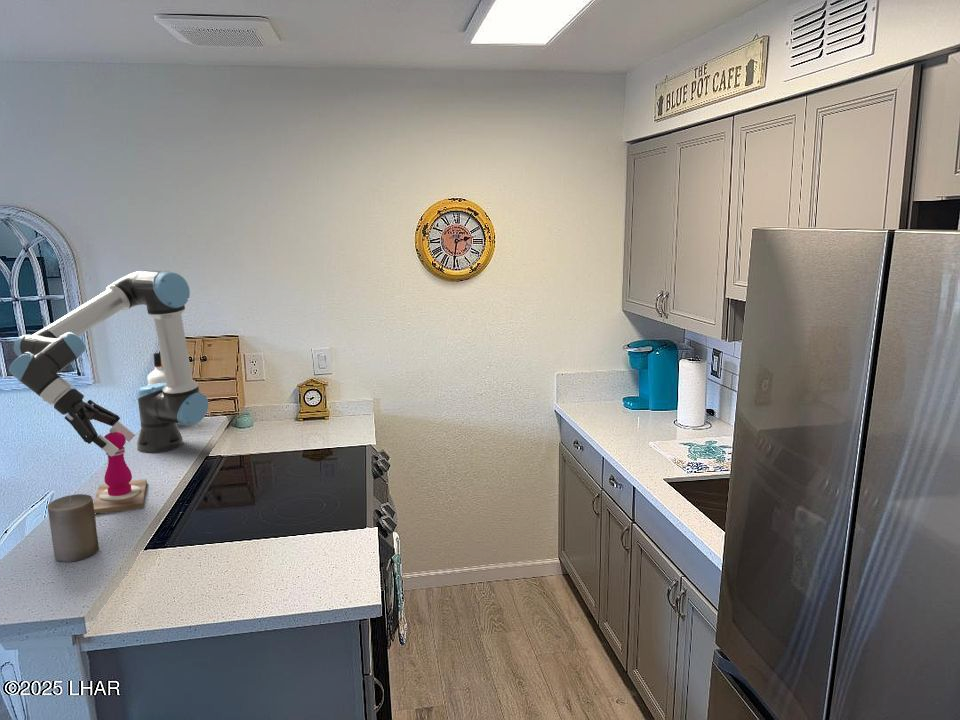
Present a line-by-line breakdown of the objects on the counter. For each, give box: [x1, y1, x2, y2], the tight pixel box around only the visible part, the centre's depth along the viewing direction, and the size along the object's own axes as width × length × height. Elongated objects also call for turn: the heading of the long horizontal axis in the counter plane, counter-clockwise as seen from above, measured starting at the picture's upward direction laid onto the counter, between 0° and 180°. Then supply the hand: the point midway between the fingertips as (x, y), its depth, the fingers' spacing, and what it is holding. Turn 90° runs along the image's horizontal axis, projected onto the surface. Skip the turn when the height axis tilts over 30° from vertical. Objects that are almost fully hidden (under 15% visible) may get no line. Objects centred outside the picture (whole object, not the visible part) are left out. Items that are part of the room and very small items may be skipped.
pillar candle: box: [46, 493, 100, 563], centre depth 168 cm, size 10×10×15 cm
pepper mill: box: [103, 426, 133, 496], centre depth 201 cm, size 7×7×20 cm
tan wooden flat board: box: [93, 478, 148, 514], centre depth 203 cm, size 20×13×2 cm, turn 23°
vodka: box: [146, 352, 166, 385], centre depth 270 cm, size 9×9×30 cm
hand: (124, 445), depth 200 cm, fingers open, 12 cm apart
